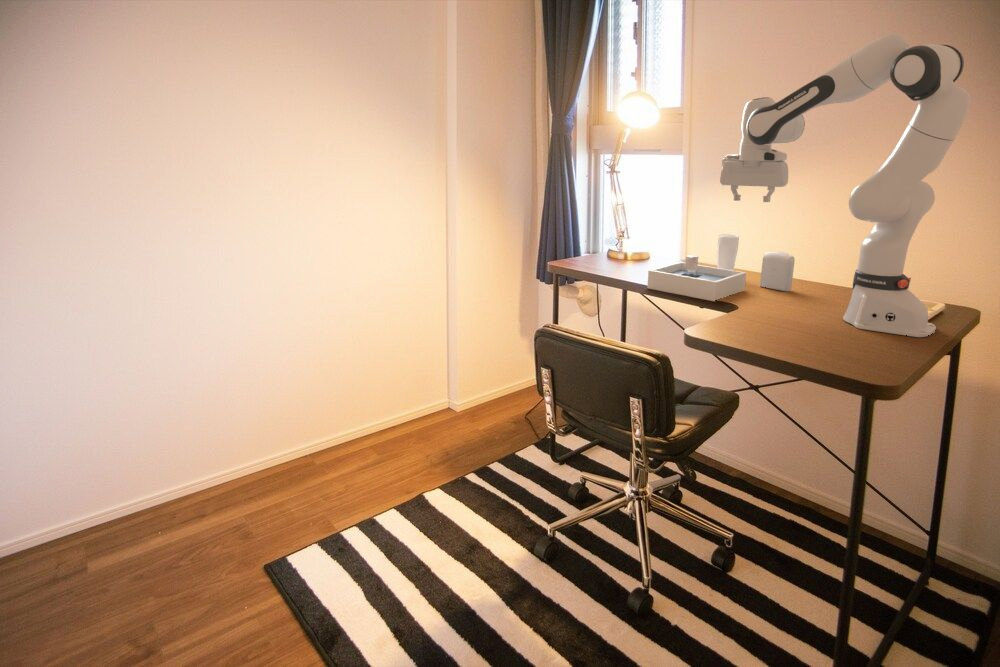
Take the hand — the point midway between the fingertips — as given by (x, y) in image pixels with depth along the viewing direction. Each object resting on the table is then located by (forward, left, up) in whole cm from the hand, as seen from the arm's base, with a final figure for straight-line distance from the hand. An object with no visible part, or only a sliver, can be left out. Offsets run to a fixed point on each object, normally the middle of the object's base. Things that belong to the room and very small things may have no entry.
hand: (751, 201), depth 218 cm
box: (+14, +4, -30) cm, 33 cm away
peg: (+18, +1, -30) cm, 34 cm away
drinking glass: (+15, -18, -30) cm, 38 cm away
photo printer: (-4, -16, -30) cm, 34 cm away
